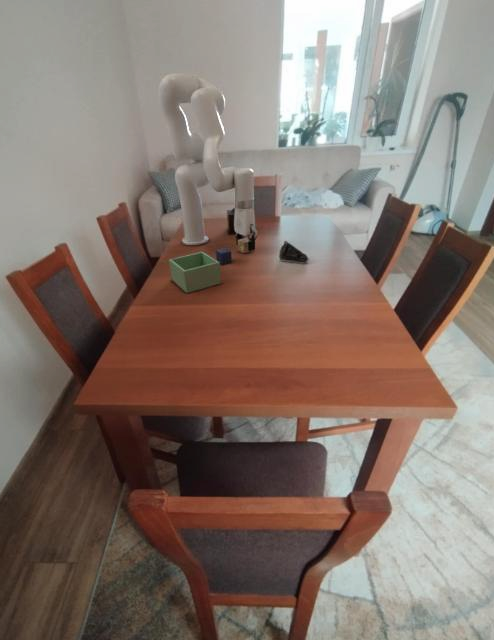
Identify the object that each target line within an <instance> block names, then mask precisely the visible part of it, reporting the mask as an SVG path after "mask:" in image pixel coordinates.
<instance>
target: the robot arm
mask: <svg viewBox="0 0 494 640" xmlns="http://www.w3.org/2000/svg"><path fill="white" fill-rule="evenodd" d="M157 96H158V103H159V106H160V110H161V113H162V115H163V119H164V122H165V126H166V130H167V135H168V139H169V143H170V147H171V151H172V155H173V156H174V159H176V160H177V161H180V162H185V161H190V163H186V164H183V165H180V166H178V168H177V169H176V170H175V173H174V181H175V185H176V189H177V191H178V196H179V202H180V209H181V215H182V216H181V217H182V224H183V234H184V237H183V238H182V239H181V242H182V244H183V245H187V246H200V245H205V244H207V243H208V242H209V237H208V236H207V235H206V233H205V223H204V222H205V220H204V212H203V211H204V210H203V209H204V208H203V202H202V201H203V200H202V197H201V194H200V192H199V190H198V189H199V188H202V187H205V186H207V185H208V184H210V187H211V188H212V189H213V190H214V191H215V192H217V193H222V192H226V191H229V190H233V189H234V202H235V203H234V205H235V207H234V208H235V214H234V230H235V232H236V233H235V241H236V242H235V243H236V246H238V240H240V239H244V237H246V238H248V240H249V241H248V251H251V252H253V251H255V250H256V241H257V238H258V234H259V231H258V229H256V217H255V215H256V214H255V209H254V208H255V173H254V170H253V169H252V168H249V167H245V168H240V167H237V166H228V167H223V168H222V167H221V164H220V161H219V154H218V153H219V148H220V145H221V143H222V141H223V140H224V139H225V137H226V136H225V135H226V133H225V130H224V126H223V124H222V120H221V118H220V116H221V115H223V113H224V111H225V108H226V99H225V96H224V95H223V93H222V91H221V90H220V89H219V88H218V87H216V86H215V85H213V84H212V83H210V82H208V81H207V80H205V78H202V77H201V76H199V75H197V74H192V73H178V72H177V73H176V72H175V73H170V74H167V75H165V76H164V77H163V78H162V79H161V81H160V82H159V87H158V95H157ZM181 104H190V106H191V109H192V112H193V116H194V118H195V121H196V123H197V127H198V129H199V132H200V133H199V132H197V131H190V128H189V125H188V120H187V117H186V114H185V111H184V110H183V108H182V107H181Z"/></svg>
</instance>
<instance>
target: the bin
mask: <svg viewBox="0 0 494 640" xmlns="http://www.w3.org/2000/svg"><path fill="white" fill-rule="evenodd" d="M168 263H169V270H170V275H171V280H172V281H173V283H175V284H176V285H177V286H178V287H179V288H180V289H182V291H184V292H185V293H186V294H188V293H192V292H196V291H200V290H203V289H207V288H209V287H210V288H211V287H213V286H216V285H221V284H222V277H221V276H222V275H221V264H220V262H218V261H217V259H215V258H214V257H212V256H210V255H209V254H207V253H206V252H204V251H199V252H195V253H190V254H188V255H187V254H186V255H181V256H177V257H174V258H170V259H168Z"/></svg>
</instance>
